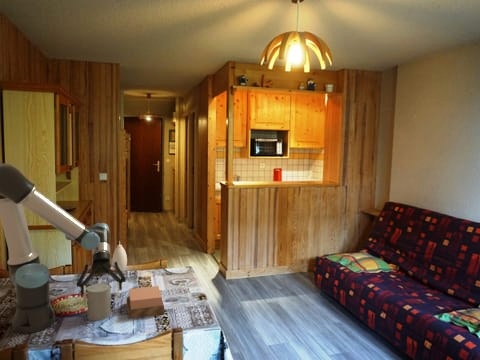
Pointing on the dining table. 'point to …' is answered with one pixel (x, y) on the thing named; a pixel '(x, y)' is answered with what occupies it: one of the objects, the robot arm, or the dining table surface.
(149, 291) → the brown square block
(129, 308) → the tower base
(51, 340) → the dining table surface
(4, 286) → the dining table surface
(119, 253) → the cream ovoid candle
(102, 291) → the grey cylinder
